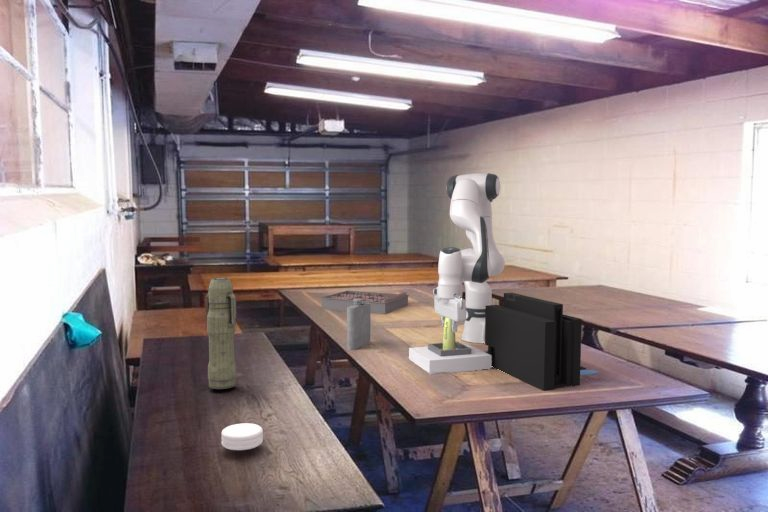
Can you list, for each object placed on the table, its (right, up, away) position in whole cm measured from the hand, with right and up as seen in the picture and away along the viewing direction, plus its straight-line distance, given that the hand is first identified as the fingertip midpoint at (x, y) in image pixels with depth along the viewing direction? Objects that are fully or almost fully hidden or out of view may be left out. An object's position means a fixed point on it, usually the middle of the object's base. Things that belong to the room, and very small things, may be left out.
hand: (449, 329), depth 231 cm
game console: (+34, -14, -8) cm, 38 cm away
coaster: (-59, -20, -74) cm, 97 cm away
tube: (0, -11, +1) cm, 11 cm away
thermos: (-77, -15, -25) cm, 82 cm away
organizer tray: (-34, -4, +119) cm, 124 cm away
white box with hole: (0, -13, +1) cm, 13 cm away
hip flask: (-35, -11, +29) cm, 47 cm away
